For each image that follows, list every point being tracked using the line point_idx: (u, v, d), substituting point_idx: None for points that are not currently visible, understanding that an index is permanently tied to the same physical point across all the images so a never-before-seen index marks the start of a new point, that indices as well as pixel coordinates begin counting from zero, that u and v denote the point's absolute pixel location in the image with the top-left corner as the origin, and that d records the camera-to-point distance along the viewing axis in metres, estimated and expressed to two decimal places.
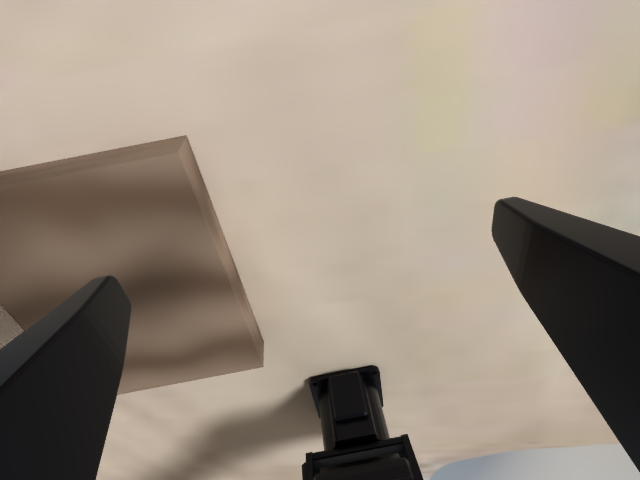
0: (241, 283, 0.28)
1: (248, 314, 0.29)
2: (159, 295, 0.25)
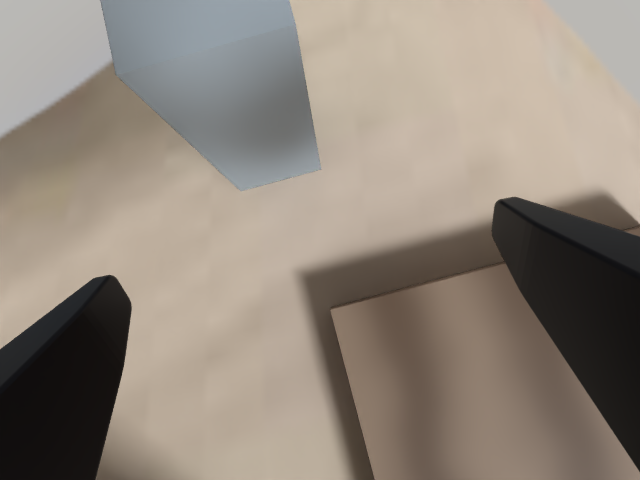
0: None
1: None
2: (565, 456, 0.18)
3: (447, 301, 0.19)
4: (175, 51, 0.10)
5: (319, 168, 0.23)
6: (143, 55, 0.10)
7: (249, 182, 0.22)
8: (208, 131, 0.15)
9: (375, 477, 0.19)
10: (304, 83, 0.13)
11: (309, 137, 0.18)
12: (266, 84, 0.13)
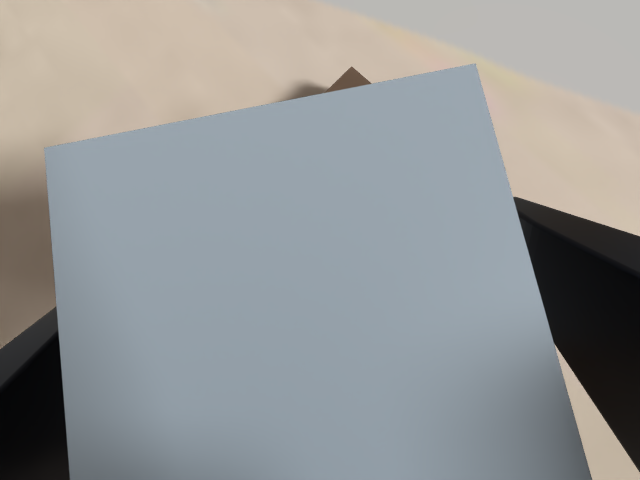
0: None
1: None
2: None
3: None
4: None
5: None
6: None
7: None
8: None
9: None
10: None
11: None
12: None
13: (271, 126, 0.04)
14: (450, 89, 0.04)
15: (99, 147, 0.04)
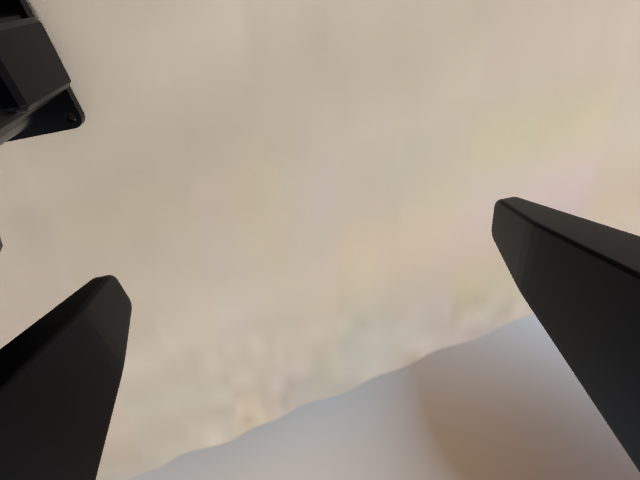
0: None
1: None
2: None
3: None
4: None
5: None
6: None
7: None
8: None
9: None
10: None
11: None
12: None
13: None
14: None
15: None
